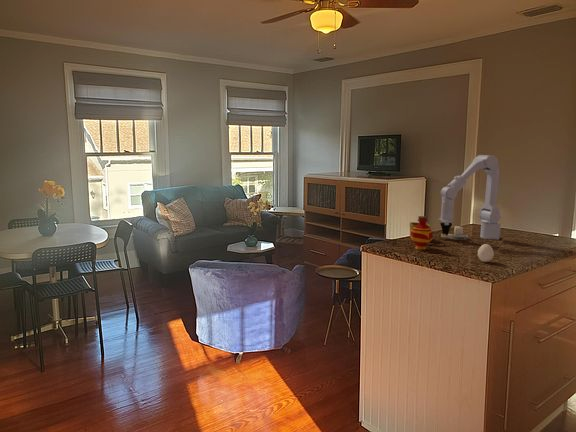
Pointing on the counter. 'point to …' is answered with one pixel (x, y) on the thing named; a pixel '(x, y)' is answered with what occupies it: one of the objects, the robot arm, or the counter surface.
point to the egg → (485, 253)
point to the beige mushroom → (458, 232)
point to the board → (461, 239)
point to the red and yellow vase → (421, 233)
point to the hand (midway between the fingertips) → (445, 236)
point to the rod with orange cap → (452, 235)
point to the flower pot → (413, 224)
